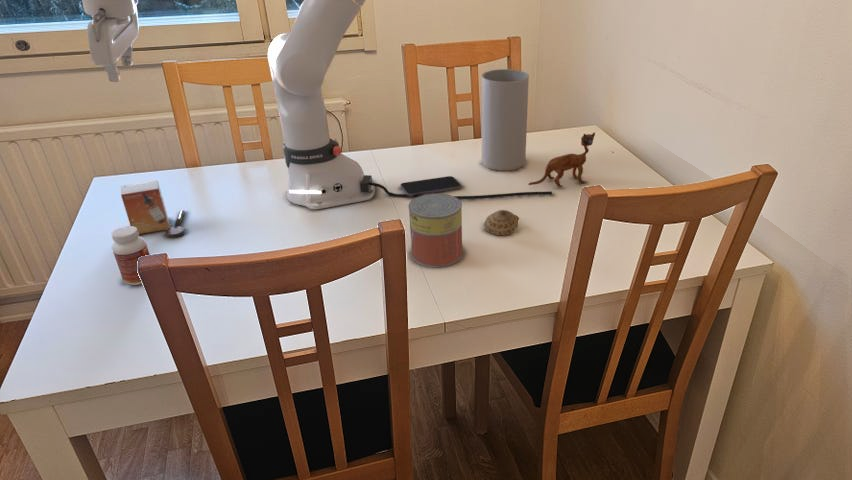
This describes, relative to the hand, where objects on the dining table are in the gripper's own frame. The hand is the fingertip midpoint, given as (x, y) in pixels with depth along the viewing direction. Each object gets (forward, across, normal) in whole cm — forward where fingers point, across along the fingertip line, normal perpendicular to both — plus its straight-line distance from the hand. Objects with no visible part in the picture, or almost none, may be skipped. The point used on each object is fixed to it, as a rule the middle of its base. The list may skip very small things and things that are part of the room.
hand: (121, 72), depth 133 cm
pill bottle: (+35, -25, -4) cm, 43 cm away
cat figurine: (+25, +6, -102) cm, 105 cm away
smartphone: (+29, +9, -68) cm, 74 cm away
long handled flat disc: (+36, -2, -7) cm, 36 cm away
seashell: (+26, -15, -82) cm, 87 cm away
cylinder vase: (+28, +22, -90) cm, 97 cm away
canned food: (+27, -25, -66) cm, 75 cm away
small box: (+37, -2, -1) cm, 37 cm away
